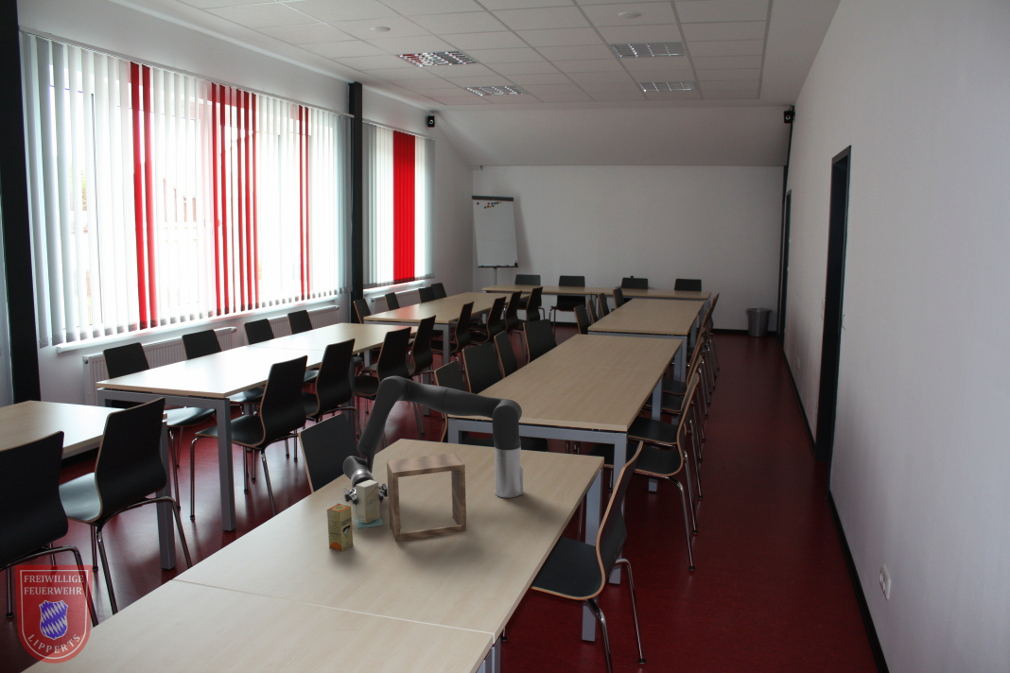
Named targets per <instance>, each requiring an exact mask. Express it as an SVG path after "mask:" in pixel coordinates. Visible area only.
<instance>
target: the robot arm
mask: <svg viewBox="0 0 1010 673" xmlns="http://www.w3.org/2000/svg"><path fill="white" fill-rule="evenodd" d="M375 395H376V396H375V399H374V403H373V406H372V410H371V413H370V415H369V417H368V421H367V422H366V425H365V427H364V429H363V431H362V433H361V435H360V438H359V439H358V443H357V444H356V450H357V451H358V452H360V453H361V454H362V455H364V456H365V457H366V458H365V459H364V458H362V457H358V456H357V455H356V456H355V455H349V456H347V457H346V458H345V459H344V461H343V463H342V471H343V474H344V475H345V476H346V477H347V479H350V484H351V488H352V489H349V488H348V487H345V488H343V495H344V500H345V502H347V503H348V502H350V501H351V502H352V504H353V505H354V506H357V497H356V485H357V484H359V483H362V482H365V481H367V480H373V481H375V479H374V476H373V475H372V473H373V467H374V466H373V465H374V461H375V457H376V452H377V450H378V447H379V445H380V443H381V440H382V438H383V437H384V436H383V435H384V433H385V428H386V424H387V420H388V419H389V418H388V417H389V415H390V413H391V411H392V409H393V407H394V406H395V405H396V403H397V402H409V403H415V404H420V405H421V406H425V408H429V409H430V410H433V411H435V412H438V413H441V414H444V415H445V414H446V415H449V416H455V417H456V416H457V417H483V418H484V417H485V418H487V419H491V420H492V423H491V425H492V426H491V427H492V440H493V443H494V444H493V446H494V448H493V449H494V484H495V485H494V491H495V492H494V494H495V495H496V496H497V497H499V498H508V499H510V498H511V499H512V498H515V497H520V496H521V495H524V471H523V470H524V469H523V467H522V454H521V453H522V446H521V445H522V444H521V443H522V442H521V440H522V439H521V438H520V428H519V427H520V425H519V424H520V422H519V421H520V420H521V418H522V414H523V410H522V407H521V406H520V404H519V403H518V402H517V401H515V400H512V399H508V398H500V397H499V398H498V397H490V396H484V395H481V394H480V395H479V394H477V393H474V392H469V391H464V390H461V389H457V388H452V387H448V386H442V385H437V384H436V385H434V384H427V383H421V382H417V381H415V380H412V379H409V378H405V377H403V376H399V375H392V376H388V377H385V378H383V379H382V380H381V381H380V383H379V384H378V388H377V391H376V394H375ZM387 497H388V485H387V484H386V483H382V484H381V486H380V485H379V503H383V501H384V500H385V498H387Z"/></svg>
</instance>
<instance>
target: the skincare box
mask: <svg viewBox="0 0 1010 673" xmlns="http://www.w3.org/2000/svg"><path fill="white" fill-rule="evenodd" d="M379 486H380V485H379V481H376V480H374V481H373V480H367V481H365V482H362V483H359V484H357V485H356V497H357V505H356V514H357V517H356V518H357V520H358V521H360V522H363V523H369V522H371V521H374V520H376V519H378V518H380V517H381V508H380V501H379Z"/></svg>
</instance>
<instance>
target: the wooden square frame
mask: <svg viewBox="0 0 1010 673" xmlns="http://www.w3.org/2000/svg"><path fill="white" fill-rule="evenodd" d="M386 470H387V472H386V474H387V477H386V478H387V489H388V519H389V520H388V523H389V528H390V530H391V534H392V536H393V539H394V542H400V541H406V540H407V541H408V540H414V539H422V538H427V537H434V536H435V537H436V536H442V535H448V534H454V533H462V532H467V503H466V502H467V499H466V496H467V495H466V493H467V492H466V465H465V462H464V461H463V460H462V459H461V458H460V457H459V455H458V454H457V453H456V452H452V453H444V454H434V455H425V456H415V457H407V458H399V459H398V458H397V459H389V460H386ZM445 472H446V473H447V472H451V474H450V475H451V502H452V504H451V506H452V508H451V509H452V519H453V520H454V521H455V523H456V524H454V525H447V526H440V527H434V528H425V529H419V530H418V529H417V530H411V531H406V532H405V531H404V532H401V517H400V516H401V514H400V494H399V492H400V490H399V478H404V477H405V478H406V477H412V476H420V475H427V474H428V475H430V474H436V473H437V474H439V473H445Z"/></svg>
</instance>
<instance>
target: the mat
mask: <svg viewBox="0 0 1010 673" xmlns="http://www.w3.org/2000/svg"><path fill="white" fill-rule="evenodd" d="M354 520H355V524H357V525H356V527H357V530H359V529H366V528H375V527H382V526H384V523H383V520H382V517H381V516H380V518H378V519H376V520H374V521H371V522H369V523H363V522H360V521H358V520H357V517H355V518H354Z"/></svg>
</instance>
